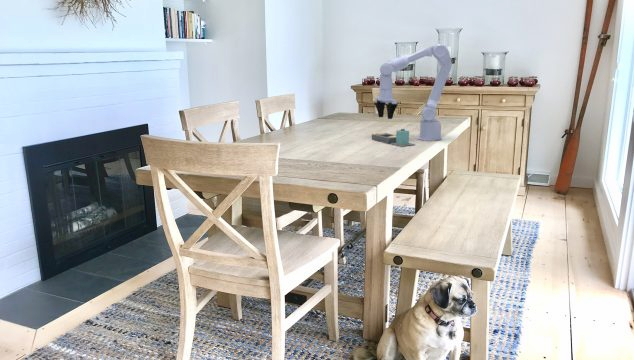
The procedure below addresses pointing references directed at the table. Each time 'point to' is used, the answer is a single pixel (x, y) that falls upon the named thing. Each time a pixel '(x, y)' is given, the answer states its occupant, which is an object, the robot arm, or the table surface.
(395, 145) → the mat
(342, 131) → the table surface
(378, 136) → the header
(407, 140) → the plug
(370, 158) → the table surface
